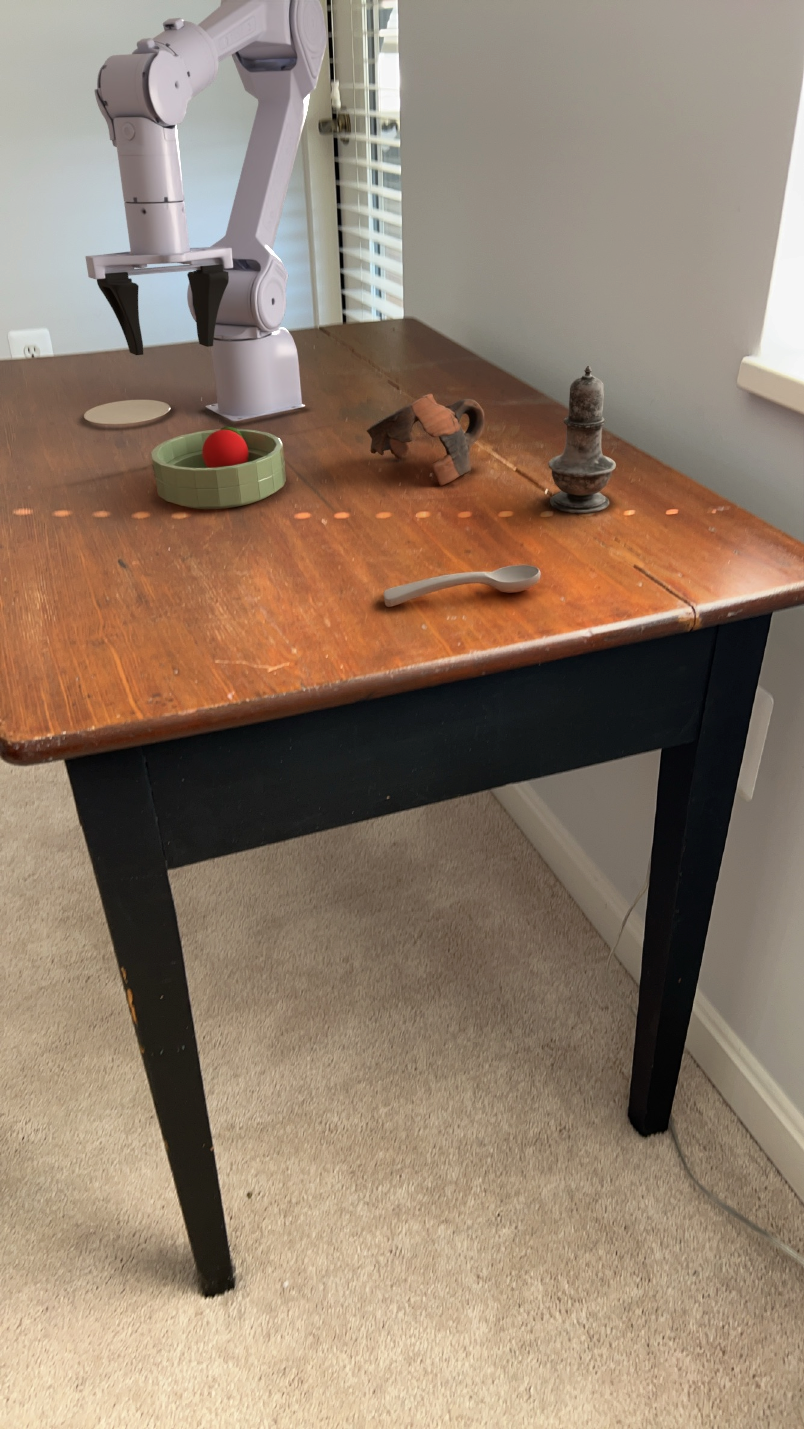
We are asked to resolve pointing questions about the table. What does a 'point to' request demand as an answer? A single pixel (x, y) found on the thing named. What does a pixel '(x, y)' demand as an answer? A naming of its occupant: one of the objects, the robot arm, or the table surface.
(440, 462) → the brown irregular piece
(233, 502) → the bowl
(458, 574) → the spoon
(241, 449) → the tomato
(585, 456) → the salt shaker
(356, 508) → the table surface
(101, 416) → the saucer
